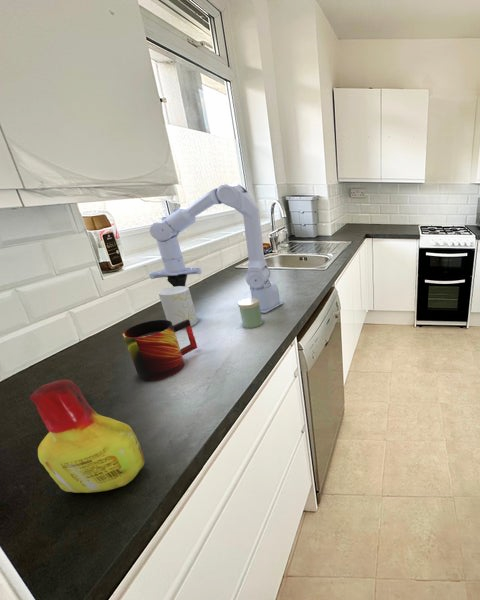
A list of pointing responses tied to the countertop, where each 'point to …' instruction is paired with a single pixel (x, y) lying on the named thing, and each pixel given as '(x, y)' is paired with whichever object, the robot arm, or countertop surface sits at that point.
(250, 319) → the tea tin
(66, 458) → the bottle
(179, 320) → the white cylinder
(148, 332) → the mug
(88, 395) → the countertop surface
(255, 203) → the robot arm
